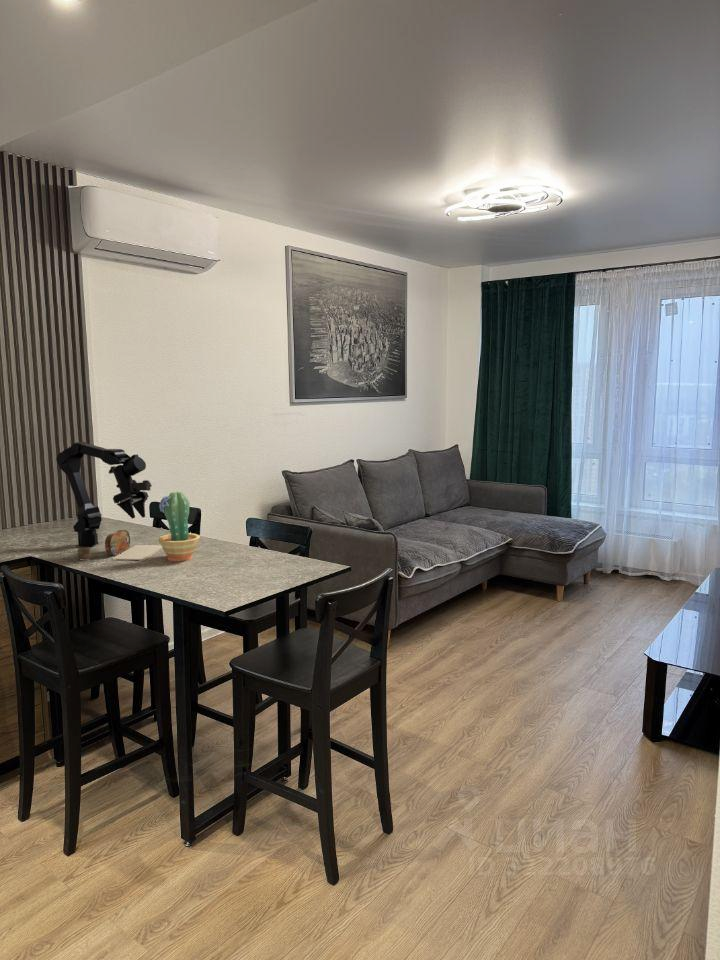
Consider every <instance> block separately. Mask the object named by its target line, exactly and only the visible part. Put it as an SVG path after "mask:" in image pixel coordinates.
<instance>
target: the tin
mask: <svg viewBox="0 0 720 960" xmlns="http://www.w3.org/2000/svg"><path fill="white" fill-rule="evenodd" d="M130 544H131V536H130V533H129V531H128V530H127V529H122V530H121V529H120V530H117V531H115V532H112V533H109V534H108V535H107V536H106V538H105V540H104V546H105V548H104V549H105V552H106V554H107V555H108V556H112V555H113V556H114V555H117V554H119V553H122V552H124V551H126V550H128V549H130Z"/></svg>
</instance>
